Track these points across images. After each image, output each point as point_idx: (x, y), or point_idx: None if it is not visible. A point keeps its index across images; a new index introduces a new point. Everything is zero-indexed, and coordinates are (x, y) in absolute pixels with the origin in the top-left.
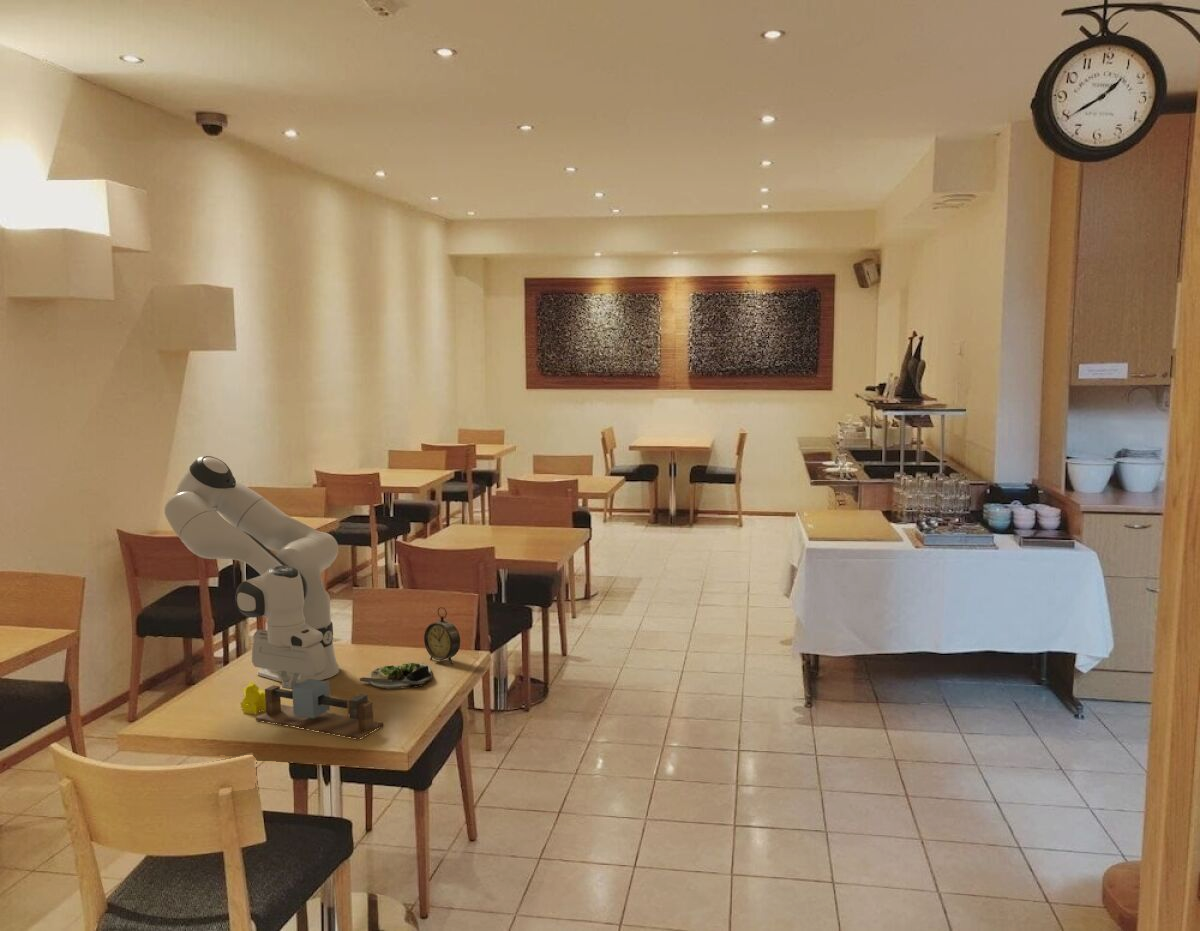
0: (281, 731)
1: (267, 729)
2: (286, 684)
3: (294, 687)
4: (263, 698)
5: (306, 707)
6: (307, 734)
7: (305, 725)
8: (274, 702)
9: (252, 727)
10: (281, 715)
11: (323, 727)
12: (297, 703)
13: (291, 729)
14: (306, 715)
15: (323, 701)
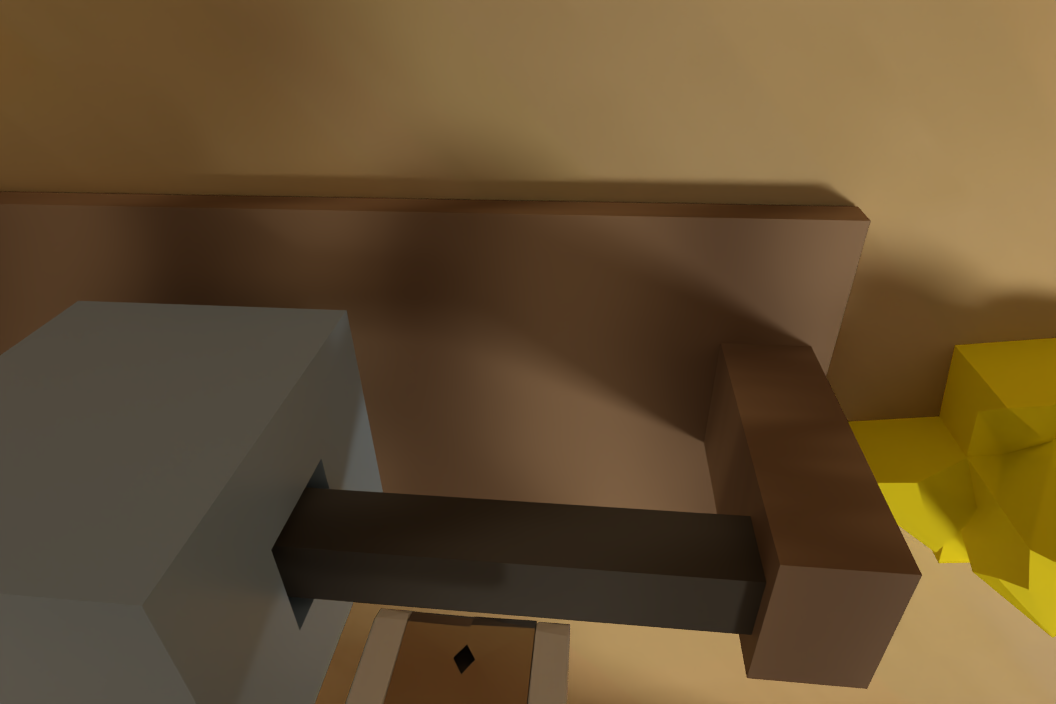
0: (355, 64)
1: (549, 46)
2: (460, 680)
3: (88, 595)
4: (984, 534)
5: (88, 368)
6: (58, 110)
7: (185, 233)
8: (733, 453)
9: (778, 19)
10: (609, 351)
11: (4, 253)
12: (205, 393)
13: (308, 154)
14: (159, 314)
15: None
